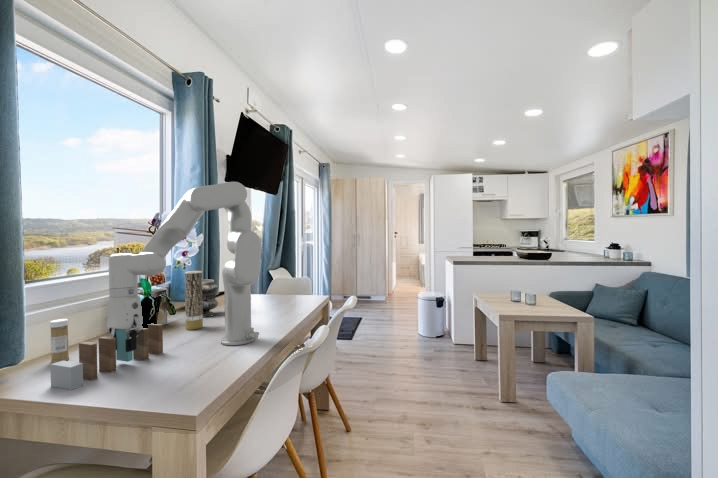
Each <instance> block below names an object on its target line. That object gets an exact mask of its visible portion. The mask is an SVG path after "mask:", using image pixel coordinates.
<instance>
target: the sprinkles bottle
mask: <svg viewBox="0 0 718 478" xmlns="http://www.w3.org/2000/svg"><path fill="white" fill-rule="evenodd" d="M68 326H69V319H68V318H59V319H53V320H50V321H49V327H50V352H51V353H50V354H51V360H50V362H51V364H53V363H56V362H59V361H69V359H70V356H69V349H70V348H69V346H70V345H69V329H68Z"/></svg>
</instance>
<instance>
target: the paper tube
mask: <svg viewBox="0 0 718 478" xmlns="http://www.w3.org/2000/svg"><path fill="white" fill-rule="evenodd" d="M202 280H203V272H202V270H188V271H187V270H186V271H184V299H185V300H184V301H185V302H184V303H185V304H184V305H185V306H184V307H185V309H184V310H185V311H184V312H185V328H186V329H187V330H191V331H194V330H199V329H202V328H203V324H204V323H203V321H204V320H203V318H204V317H203V309H202Z"/></svg>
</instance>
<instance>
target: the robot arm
mask: <svg viewBox="0 0 718 478" xmlns="http://www.w3.org/2000/svg"><path fill="white" fill-rule="evenodd" d="M247 197H248V191H247V188H246V186H245V185H243V184H242V183H240V182H239V181H227V182H221V183H216V184H215V183H214V184H210V185H208V184H207V185H203V186H195V187H193V188H192V189H189V190H188V191H186V193H184V195H183V196H182V198H181V199H180V200H179V201H178V202H177V204H176V206H175V207H174V208H173V210H172V211H171V212H170V213H169V215H168V216H167V217H166V219H165V220H164V221H163V223H161V225H160V226H159V228H158V229H157V230H156V232H155V233H154V234H153V235H152V236H151V238H149V240H148V241H147V243H146V244H145V245H144V246H143V248H142V249H141V251H140V252H139V253H138V254H134V253H115V254H114V253H113V254H111V255H110V256H109V257H108V294H109V295H108V302H107V303H108V304H107V310H106V311H107V315H106V316H107V317H106V318H107V319H106V320H107V322H106V325H105V326H106V328H107V329H108V331H109V333H110V337H113V338H116V329H123V330H125V331H126V335H127V339H126V352H130V351H133V350H136V348H137V345H136V337H138V334H139V333H140V331H141V330H142V329H143V326H142V324H143V316H142V306H141V301H140V295H139V292H138V291H139V289H138V287H139V286H138V285H139V284H138V279H139V276H157V275H160V274H161V273H162V272H163V271H165V269H166V266H167V261H166V259H165V258H166V256H167V255H168V254H169V252H171V250H172V249H173V247H175V246H176V245H177V244H178V243H179V242H181V241H182V240H184V239H185V238H186V237H188V235H190V233H191V231H192V230H193V228H194V227H195V226H196V224H197V223H198V221H199V220H200V219H201V217H202V216H203V214H204V213H205V212H206V211H212V210H219V209H224V210H225V211H226V212H225V213H226V214H227V219H228V220H227V221H228V222H227V225H228V226H227V238H226V239H227V240H226V247H227V250H228V251H229V252H230V254H232V255H234V258H231V259H230V260H228V261H227V262H226V263H225V264H224V265H223V268H222V282H223V288H224V289H223V290H224V291H223V293H224V335H225V336H223V337H222V338H221V339H220V343H221V345H224V346H240V345H246V344H250V343H252V342H254V341H255V340H256V339H258V338H259V336H260V332H259V331H255V328H254V327H252V303H251V302H252V296H251V295H252V294H251V293H252V291H251V285H253V284H254V283H256V282H257V280H258V279H259V276H260V273H261V262H262V241H261V238H260V236H259V235H258V233H256V232H255V231H253V230H252V211H251V210H250V207H249V205H248V203H247V202H246V200H247ZM130 330H132V333H130ZM116 350H117V349H116Z"/></svg>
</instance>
